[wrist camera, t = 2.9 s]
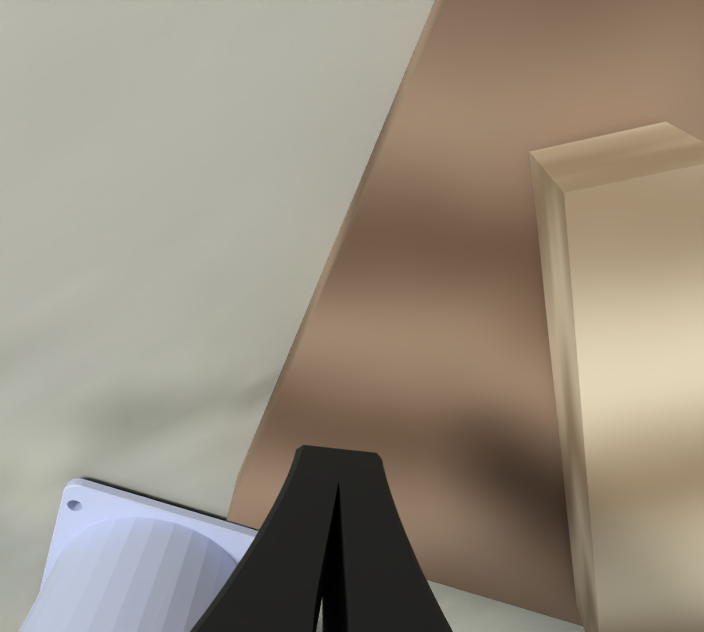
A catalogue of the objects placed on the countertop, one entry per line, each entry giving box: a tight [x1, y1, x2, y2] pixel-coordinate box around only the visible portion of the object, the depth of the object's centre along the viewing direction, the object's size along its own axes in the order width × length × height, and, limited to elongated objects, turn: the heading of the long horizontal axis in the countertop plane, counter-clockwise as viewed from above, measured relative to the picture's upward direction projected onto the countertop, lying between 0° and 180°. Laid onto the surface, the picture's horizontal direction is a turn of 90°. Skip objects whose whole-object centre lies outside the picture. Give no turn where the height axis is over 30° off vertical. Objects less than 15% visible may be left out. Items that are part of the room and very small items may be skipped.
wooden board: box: [227, 0, 704, 626], centre depth 17 cm, size 22×18×5 cm
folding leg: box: [530, 122, 704, 632], centre depth 17 cm, size 17×3×4 cm, turn 13°
